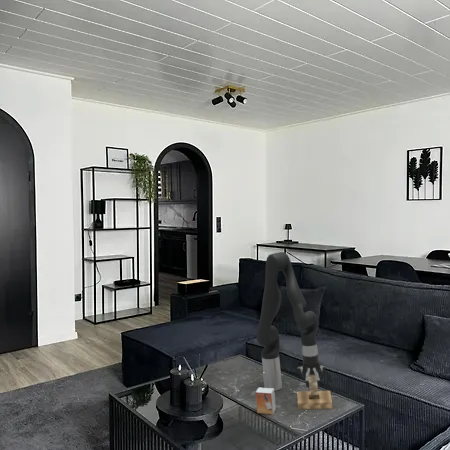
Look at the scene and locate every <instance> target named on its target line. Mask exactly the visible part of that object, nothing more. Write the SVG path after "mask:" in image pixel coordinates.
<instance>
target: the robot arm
mask: <svg viewBox="0 0 450 450" xmlns="http://www.w3.org/2000/svg"><path fill="white" fill-rule="evenodd" d="M280 271H281V272H282V273H283V275H284V278H285V283H286V284H285V285H286V287H285V288H286V290H285V291H286V295H287V298H288V300H289V303H290V304H291V306H292V311H293V316H294V321H295V323H296V326H297V327H298V328H300V329H302V330H303V329H304V330H303V331H302V332H301V333H300V339H301V355H302V366H301V365H300V366H297V372H298V374H299V376H300V378H301V380H303V381H305V385H306V388H308V389H309V380H308V375H309V374H315V375H317V385H318V389H319V388H320V387H321V380H323V379H324V377H325V373H326V370H327V369H326V368H327V367H326V365H321V363H320V361H319V349H318V345H317V338H316V337H317V336H316V335H317V329H318V316H317V315H316V313H315V312H314V311H312V310H307V311H305V312H304V308H305V307H307V302H306V299H305V297H304V295H303V293H302V291H301V289H300V287H299V284H298V282H297V281H298V280H297V277H296V275H295V271H294V269H293V265H292V261H291V259H290V257H289V255H288V254H287V253H286V252H283V251H279V252H275V253H270V254H269V255H268V256H267V257H266V260H265V278H264V279H265V280H264V288H263V290H264V291H263V296H262V303H261V311H260V317H259V323H258V327H257V330H256V341H257V343H258V344H259V346H261V347H263V349H262V350H261V353H260V354H261V361H262V362H261V363H262V379H263V388H274V392H277V391H279V390H281V389H282V388H283V382H282V373H281V372H282V371H281V363H280V355H279V353H280V350H281V349H280V347H281V345H280V334H279V331H278V328H277V327H276V326H274V325H272V324H273V321H274V319H275V317H276V316H277V314H278V312H279V310H280V307H281V301H282V292H281V289H280V287H279V284H278V276H279V275H278V274H279V272H280ZM303 370H304V371H305V375H304V373H303ZM319 370H320V371H321V372H320V375H319Z"/></svg>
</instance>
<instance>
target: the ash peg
mask: <svg viewBox="0 0 450 450" xmlns="http://www.w3.org/2000/svg"><path fill="white" fill-rule="evenodd" d="M308 380H309V388H308V389H309V391H311V395H318V394H317V391H319V388H318V385H317V375H315V374H309V375H308Z"/></svg>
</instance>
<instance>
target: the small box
mask: <svg viewBox="0 0 450 450" xmlns="http://www.w3.org/2000/svg"><path fill="white" fill-rule="evenodd" d="M275 396H276V395H275V391H274V388H264V387H259V386H258V388H257V389H256V391H255V401H256V402H255V403H256V412H257V414H266V415H274V414H275V411H276V409H277V408H276V407H277V406H276V397H275Z"/></svg>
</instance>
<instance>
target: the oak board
mask: <svg viewBox="0 0 450 450" xmlns="http://www.w3.org/2000/svg"><path fill="white" fill-rule="evenodd" d="M317 394H318V395H311V391H310V390H309V391H308V390H307V391H306V390H305V391H297V409H298V410H321V409H322V410H325V409H326V410H328V409H329V410H330V409H331V410H332V409H333V401H332V396H331V395H332V394H331V390H317Z"/></svg>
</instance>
